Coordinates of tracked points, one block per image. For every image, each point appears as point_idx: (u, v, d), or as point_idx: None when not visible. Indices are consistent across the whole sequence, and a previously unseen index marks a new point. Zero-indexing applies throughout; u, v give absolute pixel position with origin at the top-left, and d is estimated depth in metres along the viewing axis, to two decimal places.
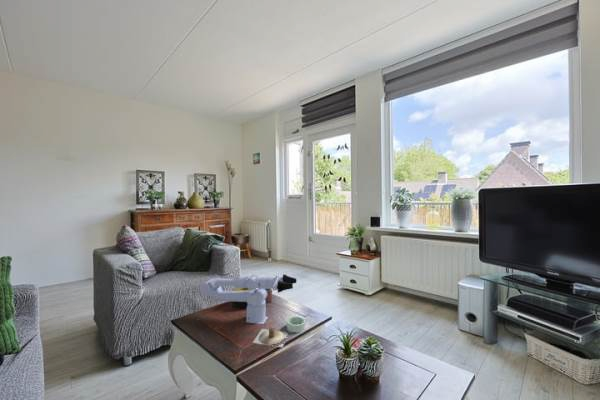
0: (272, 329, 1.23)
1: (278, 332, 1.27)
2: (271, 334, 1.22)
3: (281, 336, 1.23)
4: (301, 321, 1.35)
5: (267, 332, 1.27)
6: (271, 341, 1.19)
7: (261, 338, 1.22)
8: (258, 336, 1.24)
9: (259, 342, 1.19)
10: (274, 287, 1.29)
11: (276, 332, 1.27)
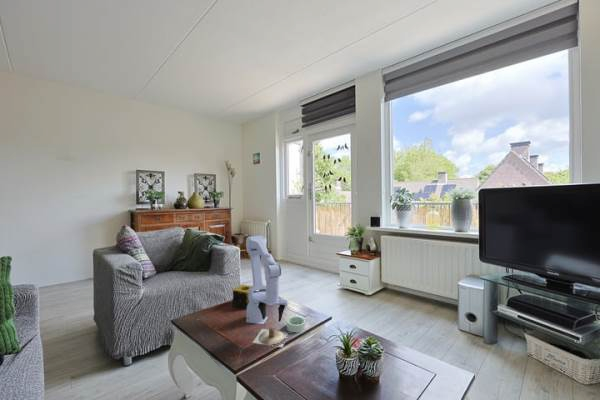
0: (272, 329, 1.23)
1: (278, 332, 1.27)
2: (271, 334, 1.22)
3: (281, 336, 1.23)
4: (301, 321, 1.35)
5: (267, 332, 1.27)
6: (271, 341, 1.19)
7: (261, 338, 1.22)
8: (258, 336, 1.24)
9: (259, 342, 1.19)
10: None
11: (276, 332, 1.27)
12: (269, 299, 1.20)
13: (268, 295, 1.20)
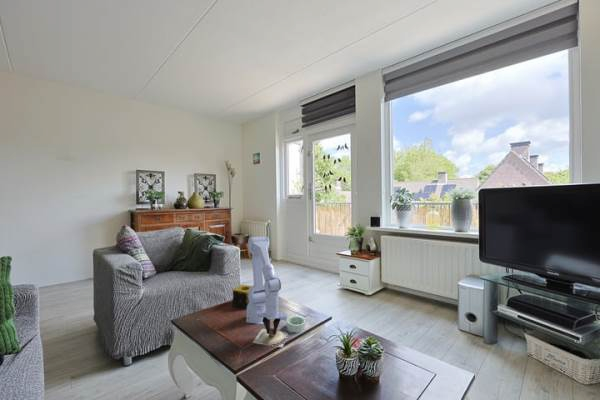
0: (272, 329, 1.23)
1: (278, 332, 1.27)
2: (271, 334, 1.22)
3: (281, 336, 1.23)
4: (301, 321, 1.35)
5: None
6: (271, 341, 1.19)
7: (261, 338, 1.22)
8: (258, 336, 1.24)
9: (259, 342, 1.19)
10: None
11: (276, 332, 1.27)
12: (269, 313, 1.20)
13: (268, 309, 1.20)
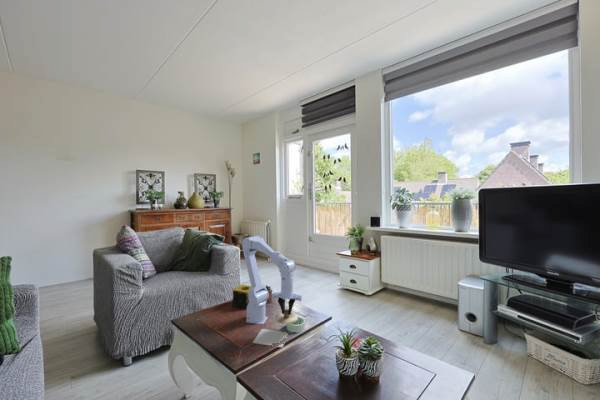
0: (287, 310, 1.28)
1: (293, 314, 1.31)
2: (286, 315, 1.27)
3: (295, 317, 1.28)
4: (301, 321, 1.35)
5: (282, 314, 1.31)
6: (286, 321, 1.24)
7: (276, 318, 1.26)
8: (258, 336, 1.24)
9: (259, 342, 1.19)
10: None
11: (291, 314, 1.31)
12: (284, 294, 1.25)
13: (283, 290, 1.25)
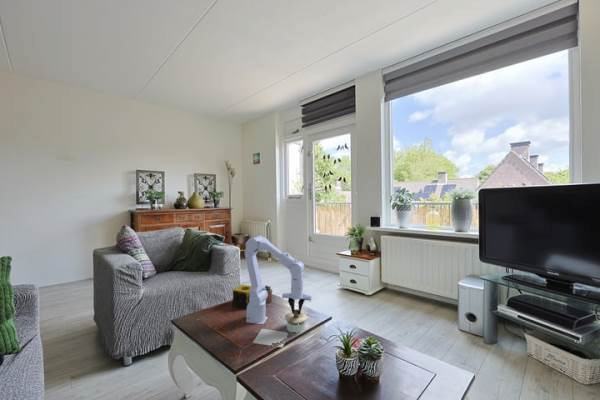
0: (297, 310, 1.32)
1: (302, 314, 1.35)
2: (296, 314, 1.30)
3: (305, 317, 1.31)
4: None
5: (292, 314, 1.35)
6: (296, 320, 1.27)
7: (286, 318, 1.30)
8: (258, 336, 1.24)
9: (259, 342, 1.19)
10: None
11: (300, 314, 1.35)
12: (294, 294, 1.29)
13: (293, 290, 1.29)
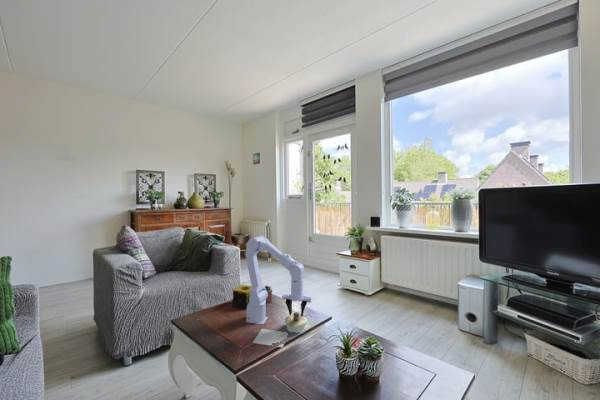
0: (296, 313, 1.32)
1: (302, 316, 1.35)
2: (295, 318, 1.30)
3: (305, 320, 1.31)
4: None
5: (291, 316, 1.35)
6: (296, 324, 1.28)
7: (286, 321, 1.30)
8: (258, 336, 1.24)
9: (259, 342, 1.19)
10: None
11: (300, 316, 1.35)
12: (294, 296, 1.29)
13: (293, 292, 1.29)
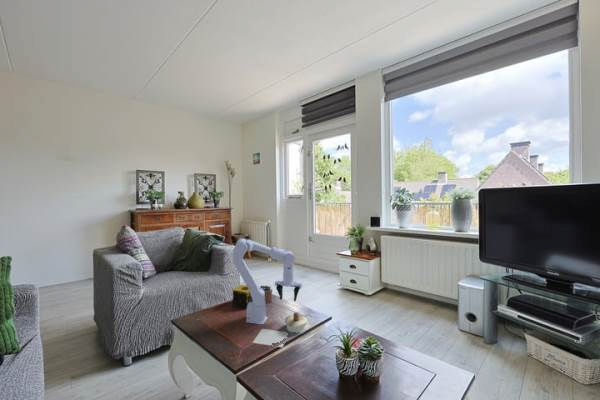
0: (296, 313, 1.32)
1: (302, 316, 1.35)
2: (295, 318, 1.30)
3: (305, 320, 1.31)
4: None
5: (291, 316, 1.35)
6: (296, 324, 1.28)
7: (286, 321, 1.30)
8: (258, 336, 1.24)
9: (259, 342, 1.19)
10: None
11: (300, 316, 1.35)
12: (286, 281, 1.38)
13: (285, 278, 1.39)
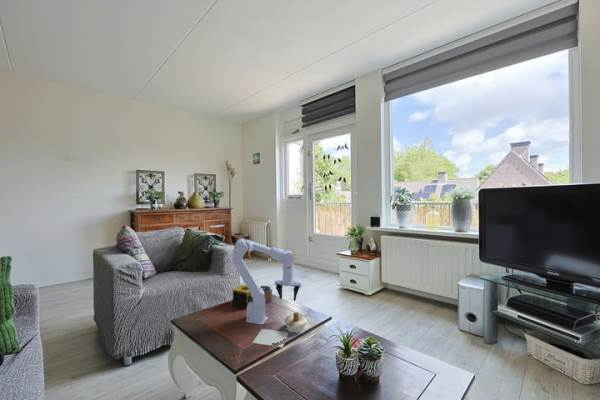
0: (296, 313, 1.32)
1: (302, 316, 1.35)
2: (295, 318, 1.30)
3: (305, 320, 1.31)
4: None
5: (291, 316, 1.35)
6: (296, 324, 1.28)
7: (286, 321, 1.30)
8: (258, 336, 1.24)
9: (259, 342, 1.19)
10: None
11: (300, 316, 1.35)
12: (285, 281, 1.39)
13: (285, 278, 1.39)
